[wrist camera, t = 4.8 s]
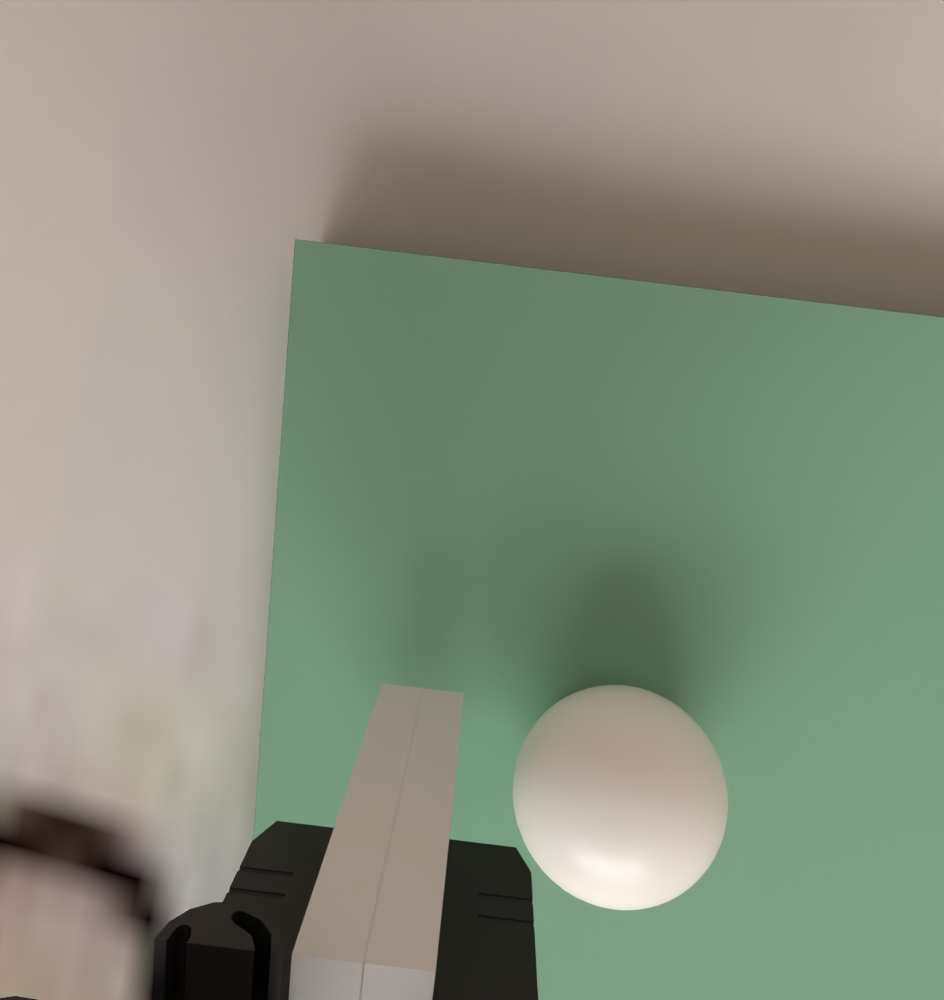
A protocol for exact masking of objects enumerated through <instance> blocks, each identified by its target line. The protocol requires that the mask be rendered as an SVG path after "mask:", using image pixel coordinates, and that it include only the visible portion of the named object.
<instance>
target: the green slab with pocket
mask: <svg viewBox="0 0 944 1000" xmlns="http://www.w3.org/2000/svg"><path fill="white" fill-rule="evenodd" d="M382 683H385V684H393V685H401V686H410V687H418V688H426V689H435V690H443V691H451V692H460V693H464V698H463V708H462V718H461V728H460V737H459V747H458V757H457V767H456V777H455V787H454V796H453V806H452V816H451V826H450V836H449V839H452V840H460V841H468V842H476V843H485V844H493V845H501V846H509V847H516V848H517V850H518V851H519V853H520V855H521V856H522V858H523V860H524V861H525V863H526V864H527V866H528V868H529V869H530V871H531V876H532V894H533V902H532V904H533V913H534V931H535V949H536V968H537V986H538V1000H944V317H935V316H927V315H919V314H910V313H902V312H894V311H885V310H877V309H869V308H861V307H852V306H844V305H836V304H827V303H819V302H811V301H802V300H794V299H786V298H778V297H769V296H761V295H753V294H744V293H736V292H728V291H719V290H711V289H703V288H695V287H686V286H678V285H670V284H661V283H653V282H645V281H636V280H628V279H620V278H612V277H603V276H595V275H587V274H578V273H570V272H562V271H553V270H545V269H537V268H528V267H520V266H512V265H504V264H495V263H487V262H479V261H470V260H462V259H454V258H445V257H437V256H429V255H421V254H412V253H404V252H396V251H387V250H379V249H371V248H362V247H354V246H346V245H338V244H329V243H321V242H313V241H304V240H296V239H295V247H294V261H293V276H292V290H291V304H290V319H289V333H288V347H287V362H286V376H285V391H284V405H283V419H282V434H281V448H280V462H279V477H278V491H277V505H276V520H275V534H274V548H273V563H272V577H271V592H270V606H269V620H268V635H267V649H266V663H265V678H264V692H263V706H262V721H261V735H260V749H259V764H258V778H257V792H256V807H255V821H254V836H253V840H254V839H255V838H256V837H258V836H259V835H260V834H261V833H263V832H264V831H265V830H266V829H267V828H269V827H270V826H271V825H272V824H274V823H275V822H276V821H283V822H291V823H299V824H307V825H316V826H324V827H332V828H334V826H335V823H336V820H337V817H338V814H339V811H340V808H341V805H342V802H343V799H344V796H345V793H346V790H347V787H348V784H349V781H350V778H351V775H352V772H353V769H354V766H355V763H356V760H357V757H358V754H359V751H360V748H361V745H362V742H363V739H364V736H365V733H366V730H367V727H368V724H369V721H370V718H371V715H372V712H373V709H374V706H375V703H376V700H377V697H378V694H379V691H380V688H381V685H382ZM602 685H627V686H632V687H638V688H642V689H645V690H648V691H651V692H653V693H655V694H658V695H660V696H662V697H664V698H666V699H668V700H670V701H671V702H673V703H674V704H676V705H677V706H679V707H680V708H681V709H682V710H684V711H685V712H686V713H687V714H688V715H689V716H690V717H692V718H693V719H694V721H695V722H696V723H697V724H698V725H699V726H700V727H701V728H702V730H703V731H704V733H705V734H706V736H707V737H708V739H709V740H710V742H711V743H712V745H713V747H714V749H715V751H716V753H717V755H718V757H719V760H720V762H721V765H722V769H723V772H724V775H725V780H726V786H727V793H728V814H727V822H726V829H725V833H724V836H723V840H722V843H721V845H720V847H719V850H718V852H717V854H716V856H715V858H714V860H713V862H712V863H711V865H710V866H709V868H708V869H707V870H706V872H705V873H704V874H703V875H702V877H701V878H700V879H699V880H698V881H697V882H696V883H695V884H694V885H692V886H691V887H690V888H689V889H688V890H686V891H685V892H684V893H682V894H681V895H679V896H678V897H676V898H674V899H672V900H670V901H668V902H666V903H663V904H661V905H658V906H654V907H650V908H646V909H639V910H613V909H608V908H602V907H599V906H596V905H593V904H590V903H587V902H585V901H583V900H581V899H578V898H576V897H574V896H573V895H571V894H569V893H568V892H566V891H565V890H563V889H562V888H561V887H560V886H558V885H557V884H556V883H555V882H553V881H552V880H551V879H550V878H549V877H548V876H547V875H546V874H545V873H544V872H543V871H542V869H541V868H540V867H539V865H538V864H537V863H536V861H535V860H534V859H533V857H532V856H531V854H530V852H529V851H528V849H527V847H526V845H525V843H524V841H523V838H522V836H521V833H520V830H519V828H518V825H517V821H516V817H515V812H514V805H513V793H512V791H513V777H514V770H515V765H516V761H517V758H518V755H519V752H520V750H521V747H522V744H523V742H524V740H525V738H526V736H527V735H528V733H529V731H530V730H531V729H532V727H533V726H534V724H535V723H536V722H537V721H538V719H539V718H540V717H541V716H542V715H543V714H544V713H545V712H546V711H547V710H548V709H549V708H551V707H552V706H553V705H554V704H556V703H557V702H559V701H560V700H562V699H563V698H565V697H567V696H569V695H571V694H573V693H576V692H578V691H581V690H584V689H587V688H591V687H596V686H602Z"/></svg>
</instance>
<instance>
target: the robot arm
mask: <svg viewBox="0 0 944 1000" xmlns="http://www.w3.org/2000/svg"><path fill="white" fill-rule="evenodd" d="M463 698H464V693H460V692H451V691H443V690H435V689H426V688H418V687H410V686H401V685H393V684H385V683H382V685H381V688H380V691H379V694H378V697H377V700H376V703H375V706H374V709H373V712H372V715H371V718H370V721H369V724H368V727H367V730H366V733H365V736H364V739H363V742H362V745H361V748H360V751H359V754H358V757H357V760H356V763H355V766H354V769H353V772H352V775H351V778H350V781H349V784H348V787H347V790H346V793H345V796H344V799H343V802H342V805H341V808H340V811H339V814H338V817H337V820H336V823H335V826H334V828H332V827H324V826H316V825H307V824H299V823H291V822H283V821H276V822H275V823H274V824H272V825H271V826H270V827H269V828H267V829H266V830H265V831H264V832H263V833H261V834H260V835H259V836H258V837H256V838H255V839H254V840H253V841H252V843H251V845H250V847H249V849H248V851H247V853H246V855H245V857H244V859H243V861H242V863H241V865H240V870H239V871H238V872H237V874H236V876H235V878H234V880H233V882H232V884H231V886H230V890H229V893H227V895H226V897H225V899H224V901H223V902H215V903H211V904H207V905H204V906H200V907H196V908H193V909H190V910H188V911H186V912H185V913H183V914H181V915H180V916H178V917H176V918H175V919H173V920H171V921H170V922H169V923H168V924H167V925H166V926H165V927H164V928H163V930H162V931H161V932H160V933H159V934H158V935H157V937H156V938H155V943H154V972H153V1000H538V986H537V968H536V949H535V931H534V913H533V904H532V902H533V894H532V876H531V871H530V869H529V868H528V866H527V864H526V863H525V861H524V860H523V858H522V856H521V855H520V853H519V851H518V850H517V848H516V847H509V846H501V845H493V844H485V843H476V842H468V841H460V840H452V839H449V836H450V826H451V816H452V806H453V796H454V787H455V777H456V767H457V757H458V747H459V737H460V728H461V718H462V708H463ZM0 1000H36V999H30V998H24V997H18V996H13V997H6V998H0Z"/></svg>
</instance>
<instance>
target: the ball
mask: <svg viewBox="0 0 944 1000" xmlns="http://www.w3.org/2000/svg"><path fill="white" fill-rule="evenodd" d="M512 793H513V805H514V812H515V817H516V821H517V825H518V828H519V830H520V833H521V836H522V838H523V841H524V843H525V845H526V847H527V849H528V851H529V852H530V854H531V856H532V857H533V859H534V860H535V861H536V863H537V864H538V865H539V867H540V868H541V869H542V871H543V872H544V873H545V874H546V875H547V876H548V877H549V878H550V879H551V880H552V881H553V882H555V883H556V884H557V885H558V886H560V887H561V888H562V889H563V890H565V891H566V892H568V893H569V894H571V895H573V896H574V897H576V898H578V899H581V900H583V901H585V902H587V903H590V904H593V905H596V906H599V907H602V908H608V909H613V910H639V909H646V908H650V907H654V906H658V905H661V904H663V903H666V902H668V901H670V900H672V899H674V898H676V897H678V896H679V895H681V894H682V893H684V892H685V891H686V890H688V889H689V888H690V887H691V886H692V885H694V884H695V883H696V882H697V881H698V880H699V879H700V878H701V877H702V875H703V874H704V873H705V872H706V870H707V869H708V868H709V866H710V865H711V863H712V862H713V860H714V858H715V856H716V854H717V852H718V850H719V847H720V845H721V843H722V840H723V836H724V833H725V829H726V822H727V814H728V793H727V786H726V780H725V775H724V772H723V769H722V765H721V762H720V760H719V757H718V755H717V753H716V751H715V749H714V747H713V745H712V743H711V742H710V740H709V739H708V737H707V736H706V734H705V733H704V731H703V730H702V728H701V727H700V726H699V725H698V724H697V723H696V722H695V721H694V719H693V718H692V717H690V716H689V715H688V714H687V713H686V712H685V711H684V710H682V709H681V708H680V707H679V706H677V705H676V704H674V703H673V702H671V701H670V700H668V699H666V698H664V697H662V696H660V695H658V694H655V693H653V692H651V691H648V690H645V689H642V688H638V687H632V686H627V685H602V686H596V687H591V688H587V689H584V690H581V691H578V692H576V693H573V694H571V695H569V696H567V697H565V698H563V699H562V700H560V701H559V702H557V703H556V704H554V705H553V706H552V707H551V708H549V709H548V710H547V711H546V712H545V713H544V714H543V715H542V716H541V717H540V718H539V719H538V721H537V722H536V723H535V724H534V726H533V727H532V729H531V730H530V731H529V733H528V735H527V736H526V738H525V740H524V742H523V744H522V747H521V750H520V752H519V755H518V758H517V761H516V765H515V770H514V777H513V791H512Z"/></svg>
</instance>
